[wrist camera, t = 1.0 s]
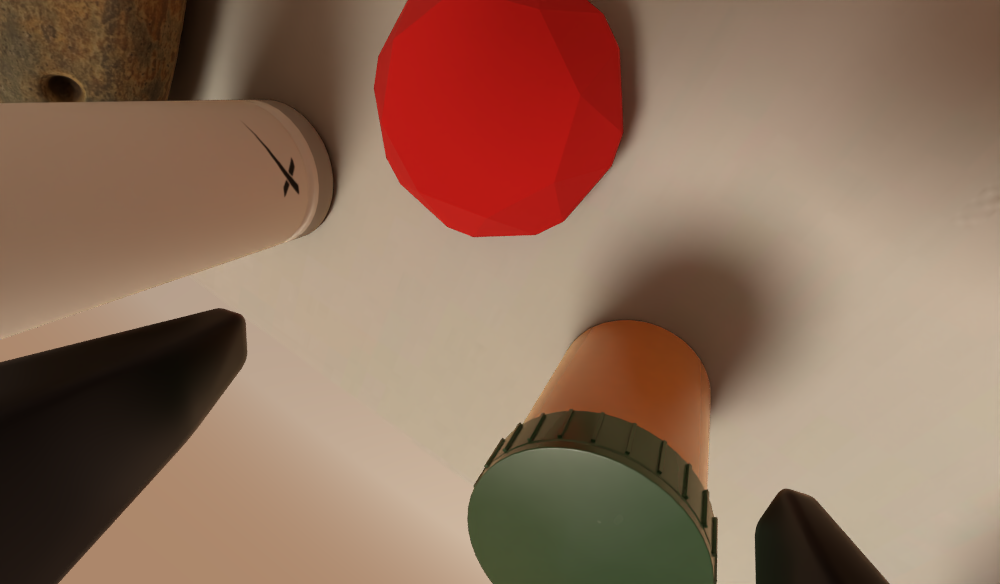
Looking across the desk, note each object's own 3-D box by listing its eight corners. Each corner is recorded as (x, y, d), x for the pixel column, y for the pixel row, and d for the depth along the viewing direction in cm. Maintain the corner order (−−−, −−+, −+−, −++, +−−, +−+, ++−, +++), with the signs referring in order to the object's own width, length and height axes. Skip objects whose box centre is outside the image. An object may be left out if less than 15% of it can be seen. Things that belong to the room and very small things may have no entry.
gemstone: (365, 126, 22) (317, 130, 20) (484, -91, 18) (443, -122, 15) (523, 270, 22) (496, 295, 19) (685, 83, 17) (679, 82, 15)
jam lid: (774, 539, 14) (781, 596, 12) (602, 628, 17) (590, 683, 15) (585, 362, 14) (567, 396, 12) (451, 483, 17) (424, 522, 16)
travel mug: (357, 140, 23) (-877, 300, 5) (312, 261, 26) (-552, 617, 8) (246, 64, 23) (-1147, -19, 6) (216, 191, 27) (-757, 380, 9)
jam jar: (746, 397, 20) (760, 579, 13) (634, 475, 23) (592, 659, 16) (628, 289, 20) (573, 403, 13) (533, 379, 23) (443, 515, 16)
